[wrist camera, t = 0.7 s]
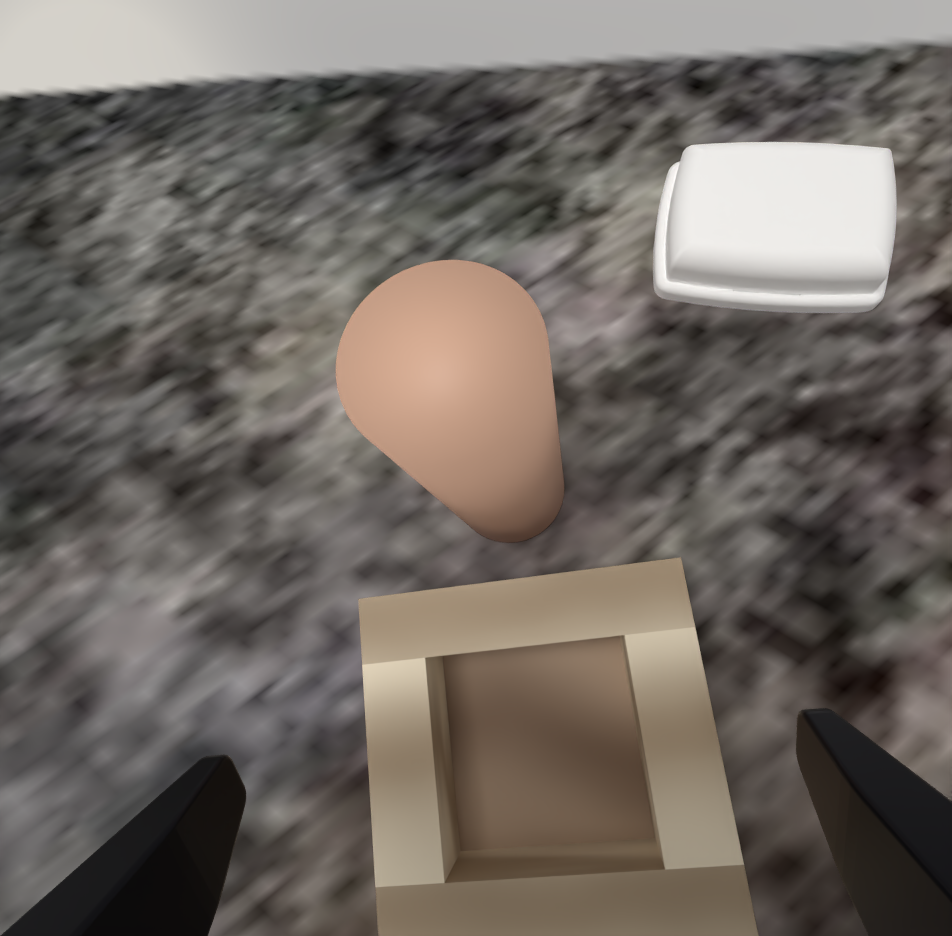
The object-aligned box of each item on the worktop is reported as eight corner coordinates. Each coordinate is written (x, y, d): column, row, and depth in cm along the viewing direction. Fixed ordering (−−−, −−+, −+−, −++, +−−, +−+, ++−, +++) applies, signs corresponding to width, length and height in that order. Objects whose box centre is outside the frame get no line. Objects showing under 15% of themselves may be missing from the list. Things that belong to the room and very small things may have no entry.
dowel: (519, 565, 23) (455, 506, 11) (434, 499, 24) (294, 383, 12) (586, 476, 23) (594, 328, 12) (499, 416, 25) (425, 225, 13)
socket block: (735, 905, 19) (762, 955, 16) (408, 922, 21) (380, 971, 18) (667, 565, 22) (681, 557, 19) (385, 601, 24) (358, 598, 21)
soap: (645, 306, 25) (653, 268, 22) (662, 170, 27) (671, 118, 24) (880, 323, 23) (920, 283, 21) (883, 176, 25) (921, 120, 22)
